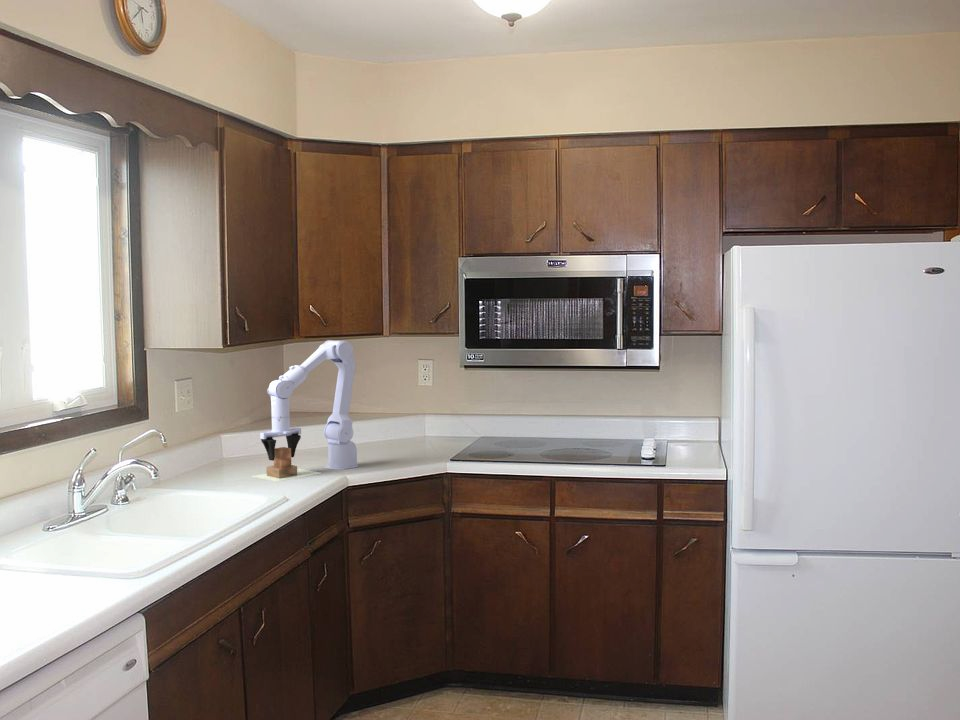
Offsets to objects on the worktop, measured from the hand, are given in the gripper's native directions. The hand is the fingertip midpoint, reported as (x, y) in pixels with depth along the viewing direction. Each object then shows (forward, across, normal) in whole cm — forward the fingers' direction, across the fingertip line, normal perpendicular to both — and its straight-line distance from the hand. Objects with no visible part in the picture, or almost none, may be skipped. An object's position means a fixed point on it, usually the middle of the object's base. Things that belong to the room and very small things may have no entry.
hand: (281, 458), depth 270 cm
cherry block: (+3, 0, 0) cm, 3 cm away
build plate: (+6, +2, 0) cm, 6 cm away
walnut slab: (+6, 0, 0) cm, 6 cm away
